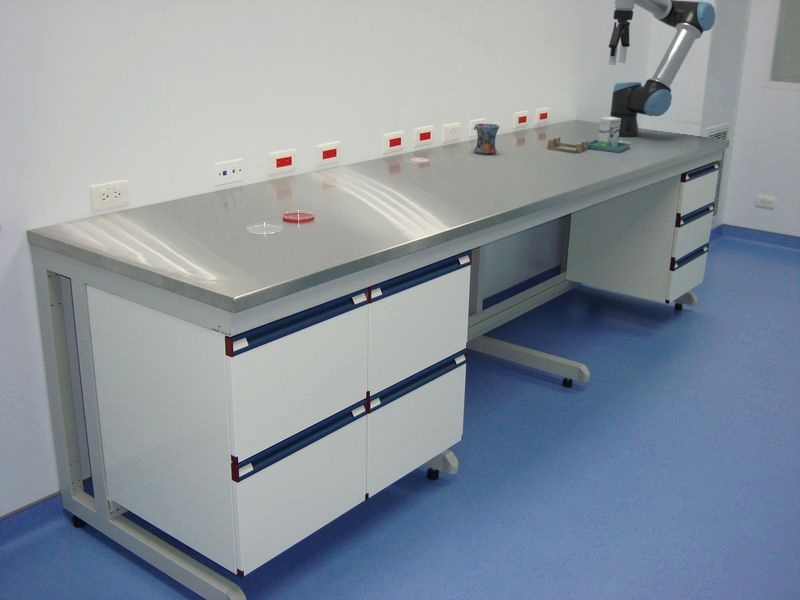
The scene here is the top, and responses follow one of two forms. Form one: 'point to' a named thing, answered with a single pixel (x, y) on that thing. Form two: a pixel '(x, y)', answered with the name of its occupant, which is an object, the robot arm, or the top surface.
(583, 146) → the frame
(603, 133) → the ink box
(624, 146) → the tray
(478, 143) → the mug
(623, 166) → the top surface
